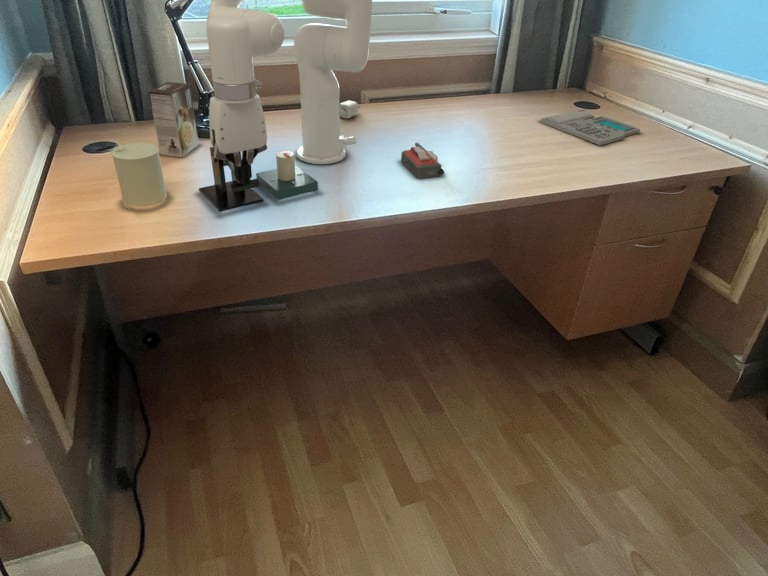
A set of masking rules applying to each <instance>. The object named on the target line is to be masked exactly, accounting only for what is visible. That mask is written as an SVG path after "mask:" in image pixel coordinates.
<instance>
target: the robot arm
mask: <svg viewBox="0 0 768 576" xmlns="http://www.w3.org/2000/svg"><path fill="white" fill-rule="evenodd" d="M244 1H245V0H210V3H209V8H208V12H207V17H206V37H207V44H208V53H209V61H210V69H211V71H210V72H211V79H212V87H213V94H214V96H211V97H210V98H209V108H208V109H209V110H208V111H209V112H208V117H209V118H208V122H209V123H208V125H209V138H210V144H211V147H214V157H215V158H217V159H223V160H225V159H227V160H229V161H231V162H232V163H233V164H234V172H235V178H236V180H238V181H239V182H240V183H241V184H242V185H246V183H247V184H251V180H252V178H253V173H252V171H253V170H252V165H253V163H254V160H255V158H256V157H257V156H258V154H261V153H263V152H265V151H267V149H268V145H267V142H268V133H267V126H266V125H267V124H266V119H265V114H264V110H263V106H262V102H261V101H262V100H261V98H260V95H258V92H257V91H258V89H261V88H263V83H262V81H261V80H260V79H259V80H257V79H256V78H255V67H254V58H255V57H262V56H270V55H273V54H275V53H277V52H278V51H279V50H280V48H281V47H282V46H283V43H284V40H285V27H284V24H283V22H282V21H281V19H280V18H279V17H278V16H277V15H275V14H274V13H272V12H270V11H264V10H256V9H251V8H243V7H242V8H241V5H242V3H243V2H244ZM301 2H302V7H303V10H304V11H305V13H306V14H308V15H310V16H312V17H316V18H322V19H330V20H338V21H339V20H340V21H345V24H346V26H340V25H334V24H326V23H325V24H324V23H307V24H304V25H302V26H300V27H299V28H298V29H297V31H296V32H295V34H294V39H293V46H294V47H293V48H294V54H295V58H296V63H297V68H298V74H299V75H298V76H299V89H300V91H299V92H300V93H299V94H300V115H301V137H302V138H301V139H302V141H301V142H302V145H301V146H300V147H298V148H297V150H296V156H297V158H298V159H299V160H301V161H302V162H305V163H308V164H313V165H330V164H331V165H332V164H335V163H338V162H341V161H343V160H344V159H345V158H346V155H347V151H346V149H345V148H346V147H347V146H351V145H355V144H357V138H356V137H355V136H349V137H347V135H341V133H340V130H341V129H340V128H341V126H340V123H341V121H340V119H341V117H340V110H339V104H340V93H341V92H340V84H339V80H338V78H337V76H336V74H335V73H334V71H337V72H346V73H360V72H361V71H363V70H364V69H365V68H366V66H367V63H368V59H369V53H370V42H371V41H370V39H371V27H372V26H371V25H372V10H373V0H301ZM240 151H241V158H240V154H239V152H240Z"/></svg>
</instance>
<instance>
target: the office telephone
mask: <svg viewBox="0 0 768 576" xmlns="http://www.w3.org/2000/svg"><path fill="white" fill-rule="evenodd" d="M540 123H541V124H544V125H547V126H549V127H551V128H554V129H557V130H560V131H562V132H564V133H568V134H570V135H572V136H575V137H578V138H580V139H583V140H586V141H588V142H590V143H592V144H595V145H598V146H604V145H607V144H611V143H614V142H618V141H620V140H624V138H625V137H628V136H632V135H635V134H640V132H641V128H639V127H636V126H633V125H630V124H628V123H625V122H623V121H619V120H616V119H614V118H611V117H607V116H605V115H600V116H596V117H595V115H594V114H592V113H591V112H590V111H589V110H587V109H577V110H573V111H569V112H565V113H560V114H556V115H551V116H545V117H541V118H540Z"/></svg>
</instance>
